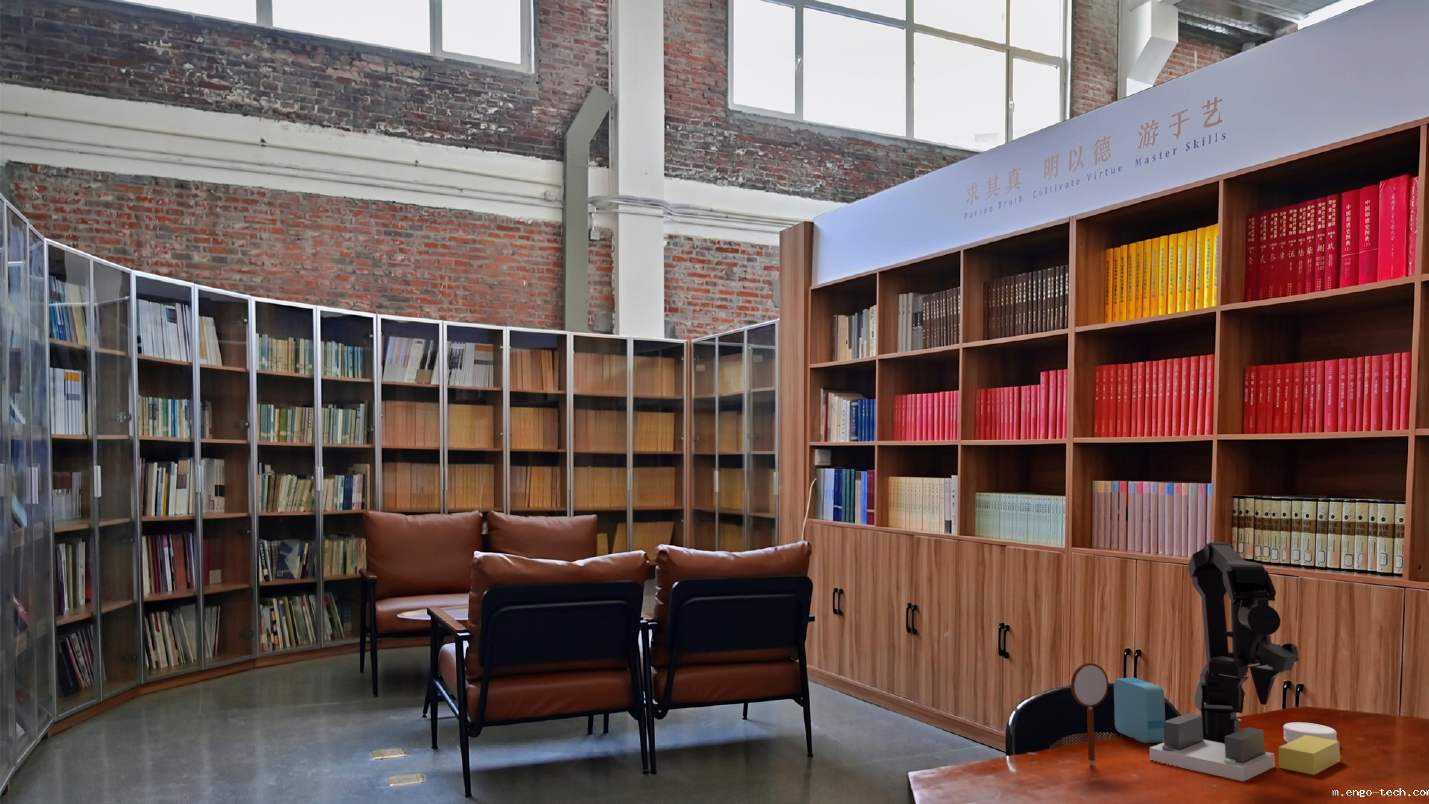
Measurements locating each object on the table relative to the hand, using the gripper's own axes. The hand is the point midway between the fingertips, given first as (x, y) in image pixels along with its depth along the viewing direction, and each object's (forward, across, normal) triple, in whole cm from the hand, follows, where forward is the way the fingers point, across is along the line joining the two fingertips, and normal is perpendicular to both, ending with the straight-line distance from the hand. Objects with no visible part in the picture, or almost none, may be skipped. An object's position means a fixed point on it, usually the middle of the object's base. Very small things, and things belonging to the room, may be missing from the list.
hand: (1250, 707), depth 196 cm
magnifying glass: (+12, -25, +18) cm, 33 cm away
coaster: (+12, +30, +4) cm, 32 cm away
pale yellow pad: (+12, +13, -4) cm, 18 cm away
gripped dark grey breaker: (+10, -2, 0) cm, 10 cm away
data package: (+12, +2, +26) cm, 29 cm away
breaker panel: (+12, -4, +6) cm, 14 cm away
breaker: (+10, -3, +12) cm, 16 cm away
